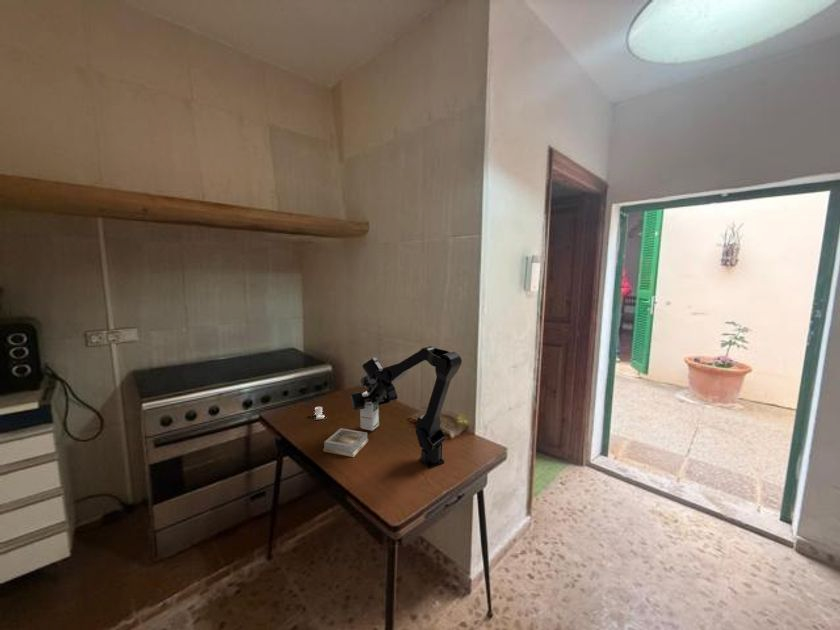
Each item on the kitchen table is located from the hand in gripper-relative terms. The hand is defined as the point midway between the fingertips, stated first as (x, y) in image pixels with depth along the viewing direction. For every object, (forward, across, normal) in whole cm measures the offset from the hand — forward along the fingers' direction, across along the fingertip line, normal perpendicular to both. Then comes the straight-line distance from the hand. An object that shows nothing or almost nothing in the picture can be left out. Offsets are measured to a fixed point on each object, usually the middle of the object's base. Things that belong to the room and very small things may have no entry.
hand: (368, 406), depth 136 cm
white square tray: (0, +13, +13) cm, 19 cm away
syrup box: (+5, 0, +7) cm, 9 cm away
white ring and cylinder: (+22, +16, -9) cm, 29 cm away
